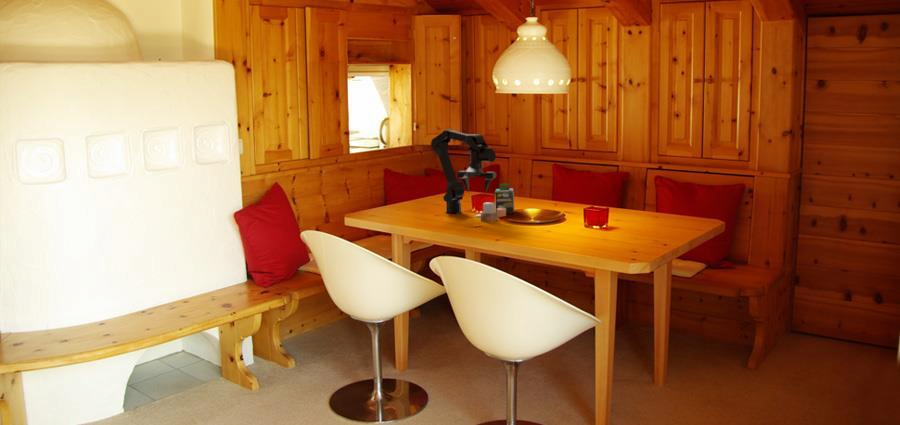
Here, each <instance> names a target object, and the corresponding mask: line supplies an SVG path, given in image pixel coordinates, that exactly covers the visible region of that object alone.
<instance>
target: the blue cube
mask: <svg viewBox="0 0 900 425" xmlns="http://www.w3.org/2000/svg"><path fill="white" fill-rule="evenodd" d="M482 210H483V211H482V212H483V213H490V214H492V213H494V212H496V204H495V202H487V201H486V202H484V203H482Z"/></svg>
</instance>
